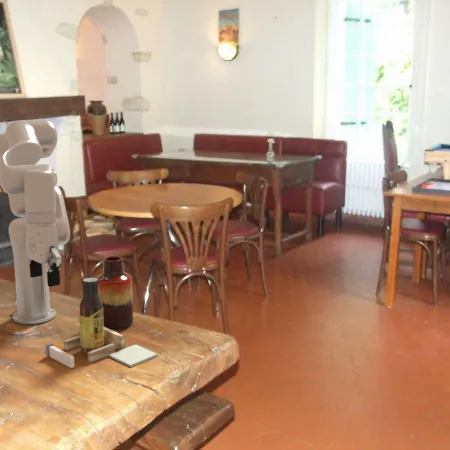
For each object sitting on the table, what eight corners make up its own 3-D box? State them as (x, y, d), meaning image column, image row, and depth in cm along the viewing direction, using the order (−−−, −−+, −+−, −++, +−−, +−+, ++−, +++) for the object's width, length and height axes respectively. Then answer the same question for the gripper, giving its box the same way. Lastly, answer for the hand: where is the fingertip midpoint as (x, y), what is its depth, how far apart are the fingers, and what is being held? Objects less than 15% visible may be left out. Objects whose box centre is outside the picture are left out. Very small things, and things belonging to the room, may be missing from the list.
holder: (64, 349, 162) (63, 335, 161) (98, 337, 170) (97, 324, 169) (90, 362, 154) (89, 348, 153) (124, 349, 162) (124, 335, 161)
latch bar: (46, 355, 157) (45, 344, 156) (51, 353, 158) (50, 342, 157) (70, 368, 150) (69, 356, 149) (75, 366, 151) (74, 354, 150)
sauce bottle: (98, 356, 158) (95, 284, 153) (76, 354, 159) (73, 282, 154) (108, 346, 164) (105, 277, 159) (87, 344, 165) (84, 275, 161)
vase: (140, 321, 182) (139, 257, 177) (116, 333, 173) (113, 265, 168) (114, 314, 187) (111, 251, 183) (89, 325, 178) (86, 259, 174)
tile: (109, 356, 157) (108, 354, 157) (135, 346, 164) (135, 344, 164) (130, 367, 152) (130, 364, 151) (157, 356, 158) (157, 353, 158)
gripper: (12, 213, 156) (16, 276, 160) (43, 225, 144) (47, 292, 148) (39, 209, 161) (42, 270, 165) (71, 221, 149) (74, 286, 153)
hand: (45, 280), depth 156 cm, fingers open, 9 cm apart
